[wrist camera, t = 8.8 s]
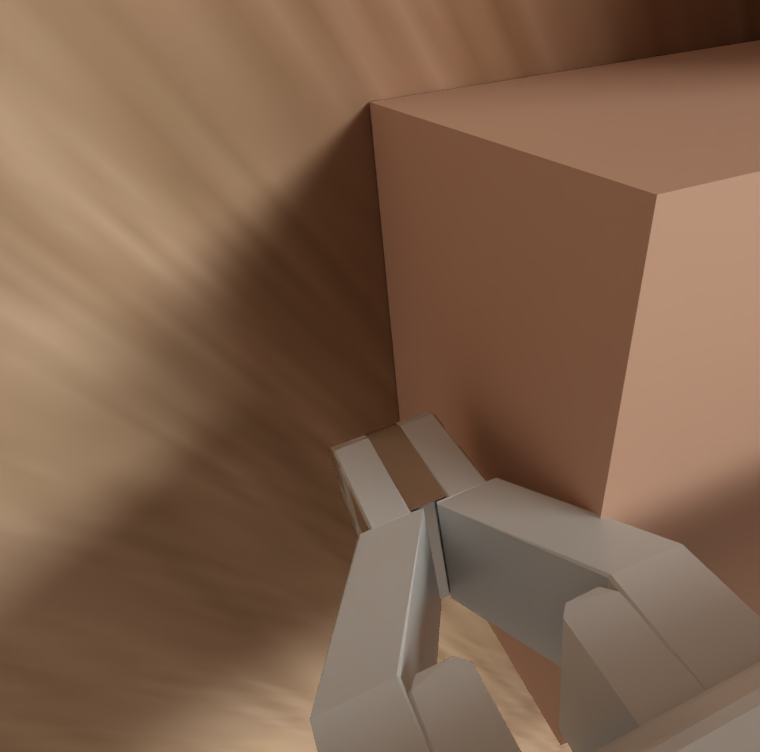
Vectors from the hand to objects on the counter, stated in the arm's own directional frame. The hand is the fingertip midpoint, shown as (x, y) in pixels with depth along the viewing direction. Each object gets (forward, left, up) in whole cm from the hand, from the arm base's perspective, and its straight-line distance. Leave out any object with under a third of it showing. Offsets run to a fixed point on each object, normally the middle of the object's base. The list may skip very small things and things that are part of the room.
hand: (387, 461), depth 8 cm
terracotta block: (0, +5, -3) cm, 6 cm away
